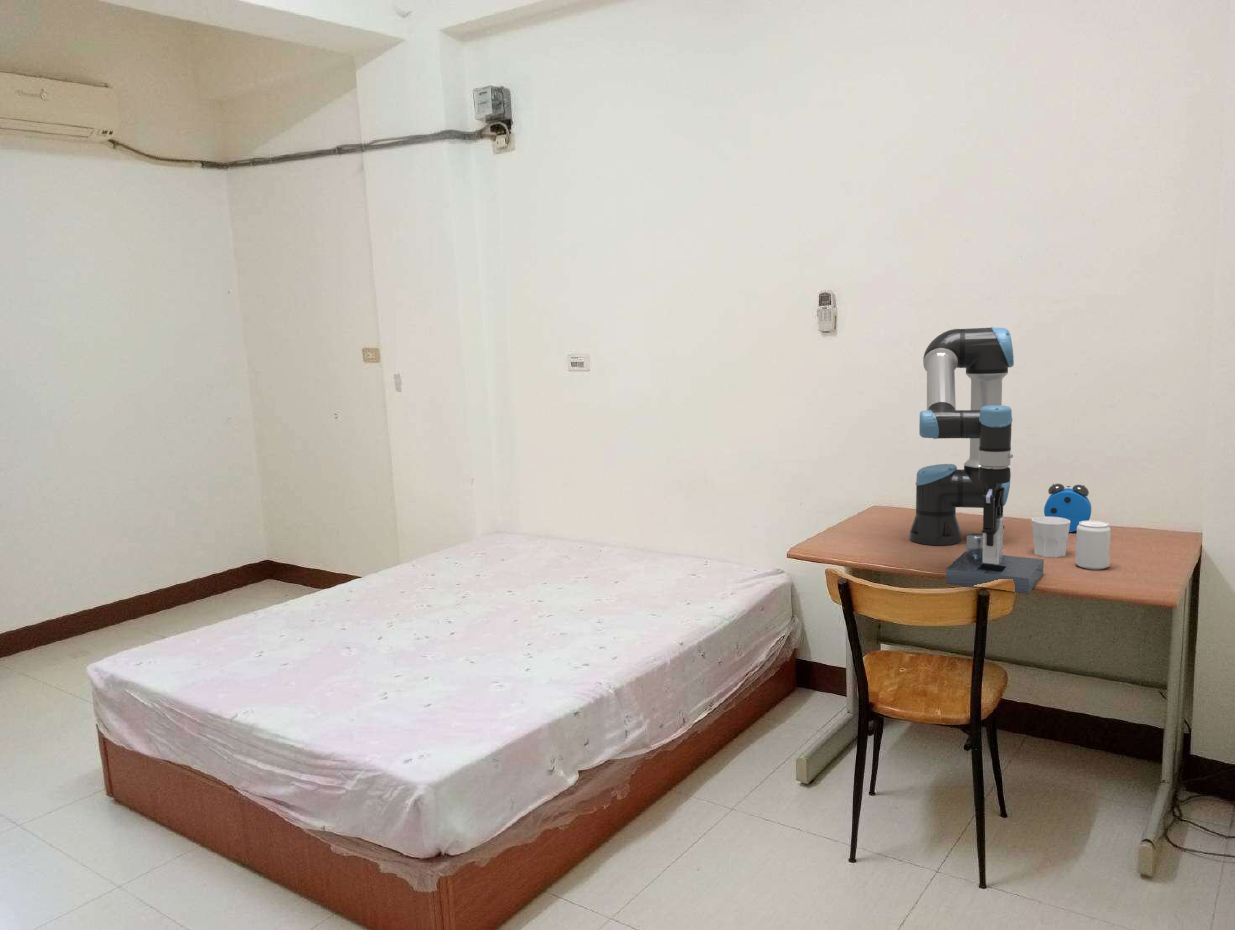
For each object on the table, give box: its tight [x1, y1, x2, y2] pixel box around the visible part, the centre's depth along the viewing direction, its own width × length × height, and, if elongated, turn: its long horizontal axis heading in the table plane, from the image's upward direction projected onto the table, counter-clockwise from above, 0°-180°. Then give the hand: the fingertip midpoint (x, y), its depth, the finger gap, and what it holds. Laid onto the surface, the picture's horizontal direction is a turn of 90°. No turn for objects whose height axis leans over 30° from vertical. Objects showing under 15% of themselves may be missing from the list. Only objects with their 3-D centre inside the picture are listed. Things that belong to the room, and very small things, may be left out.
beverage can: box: [1075, 520, 1111, 571], centre depth 245 cm, size 8×8×12 cm
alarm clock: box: [1043, 483, 1092, 533], centre depth 284 cm, size 13×6×15 cm, turn 61°
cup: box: [1030, 516, 1070, 559], centre depth 259 cm, size 10×10×10 cm
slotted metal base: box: [945, 532, 1045, 595], centre depth 238 cm, size 20×20×10 cm
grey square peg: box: [982, 514, 1004, 564], centre depth 233 cm, size 4×4×12 cm
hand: (992, 555), depth 234 cm, fingers closed on grey square peg, 4 cm apart
